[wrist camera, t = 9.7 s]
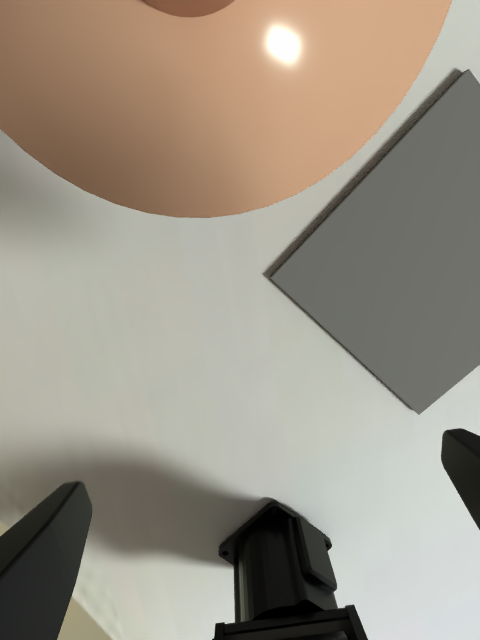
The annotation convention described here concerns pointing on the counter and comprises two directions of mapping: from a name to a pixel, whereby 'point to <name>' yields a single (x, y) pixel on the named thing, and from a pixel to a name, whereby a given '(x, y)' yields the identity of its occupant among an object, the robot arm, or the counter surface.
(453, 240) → the rubber mat
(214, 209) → the terracotta lid
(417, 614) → the counter surface
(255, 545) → the robot arm
